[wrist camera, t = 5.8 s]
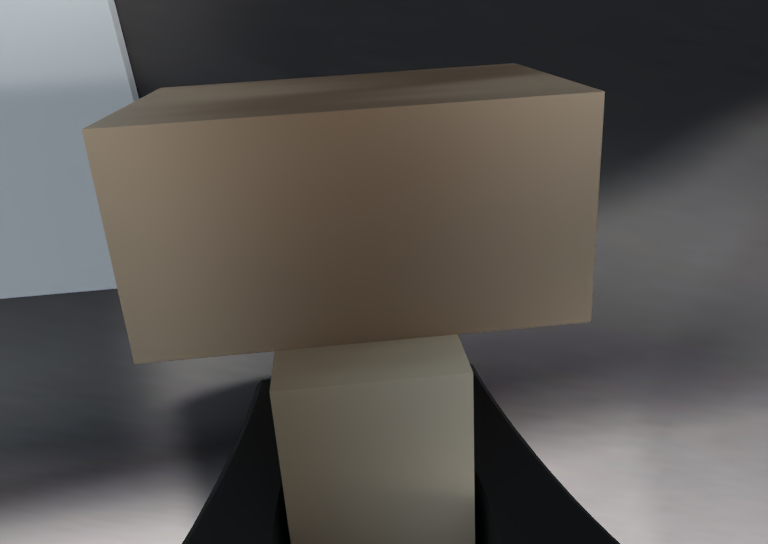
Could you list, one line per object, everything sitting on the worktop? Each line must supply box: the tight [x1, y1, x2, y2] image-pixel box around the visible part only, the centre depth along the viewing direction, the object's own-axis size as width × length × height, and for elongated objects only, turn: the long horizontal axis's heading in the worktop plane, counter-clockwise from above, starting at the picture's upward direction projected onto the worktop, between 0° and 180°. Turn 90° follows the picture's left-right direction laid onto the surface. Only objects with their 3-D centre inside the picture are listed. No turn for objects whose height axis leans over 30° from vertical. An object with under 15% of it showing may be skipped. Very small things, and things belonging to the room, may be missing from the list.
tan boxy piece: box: [82, 63, 605, 544], centre depth 12 cm, size 6×14×5 cm, turn 2°
